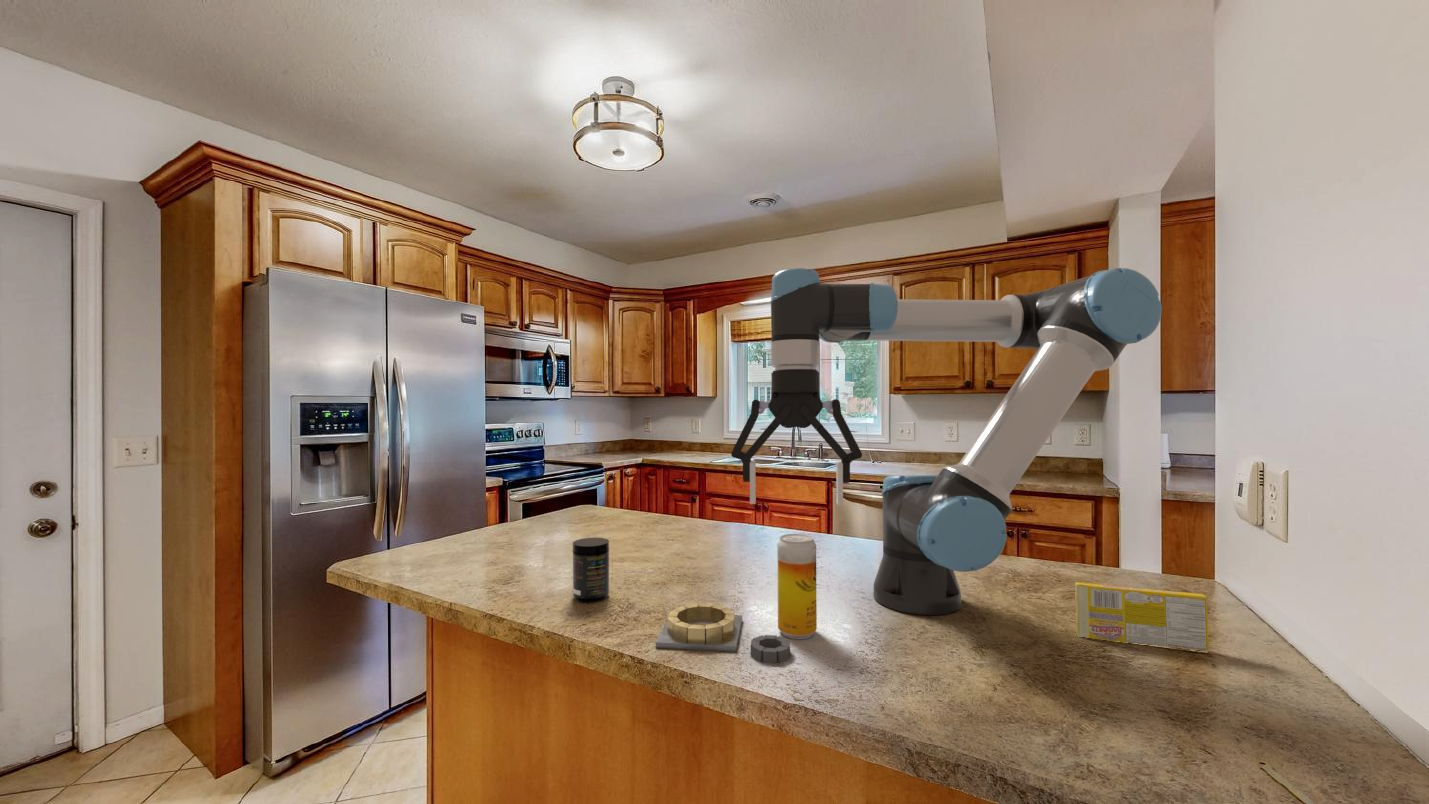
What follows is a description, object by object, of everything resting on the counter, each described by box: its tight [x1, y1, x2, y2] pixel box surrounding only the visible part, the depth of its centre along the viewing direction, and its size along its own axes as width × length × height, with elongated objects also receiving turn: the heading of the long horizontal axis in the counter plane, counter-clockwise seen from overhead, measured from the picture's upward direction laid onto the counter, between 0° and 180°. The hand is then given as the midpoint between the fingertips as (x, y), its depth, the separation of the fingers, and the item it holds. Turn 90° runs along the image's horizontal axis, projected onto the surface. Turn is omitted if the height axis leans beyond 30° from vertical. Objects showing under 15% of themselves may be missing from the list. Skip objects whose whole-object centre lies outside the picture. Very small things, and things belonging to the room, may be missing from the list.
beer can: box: [776, 533, 818, 640], centre depth 89 cm, size 6×6×15 cm
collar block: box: [655, 603, 743, 653], centre depth 89 cm, size 12×12×3 cm
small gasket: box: [750, 634, 791, 664], centre depth 82 cm, size 6×6×2 cm
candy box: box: [1074, 581, 1210, 652], centre depth 85 cm, size 16×2×8 cm, turn 68°
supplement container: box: [572, 537, 610, 604], centre depth 106 cm, size 7×7×10 cm
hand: (795, 503), depth 89 cm, fingers open, 13 cm apart
